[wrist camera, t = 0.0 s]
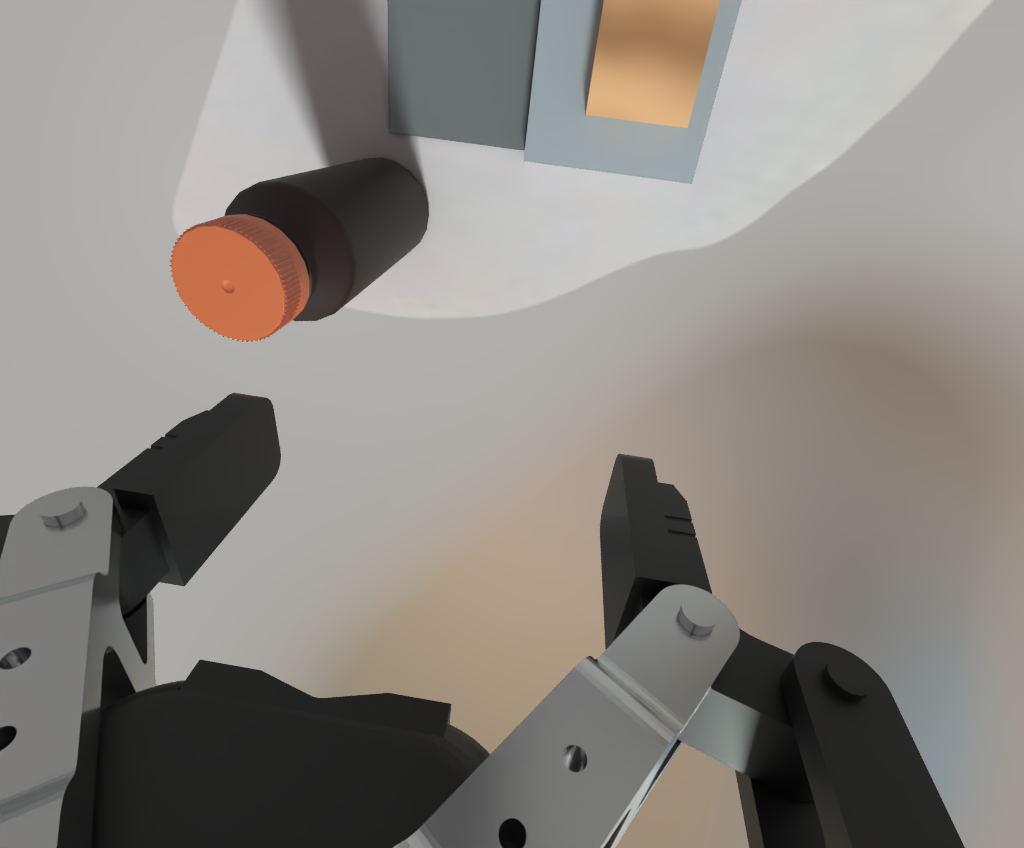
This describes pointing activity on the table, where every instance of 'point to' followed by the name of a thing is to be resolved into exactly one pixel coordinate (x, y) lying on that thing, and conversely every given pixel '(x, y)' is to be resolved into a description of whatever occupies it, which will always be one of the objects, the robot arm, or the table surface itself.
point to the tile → (650, 59)
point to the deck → (606, 141)
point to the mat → (462, 69)
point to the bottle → (298, 246)
